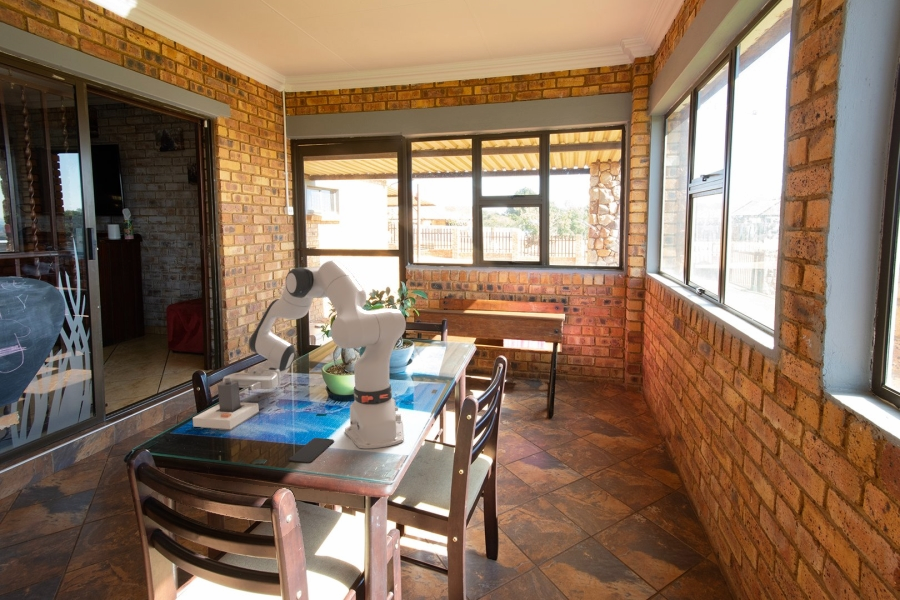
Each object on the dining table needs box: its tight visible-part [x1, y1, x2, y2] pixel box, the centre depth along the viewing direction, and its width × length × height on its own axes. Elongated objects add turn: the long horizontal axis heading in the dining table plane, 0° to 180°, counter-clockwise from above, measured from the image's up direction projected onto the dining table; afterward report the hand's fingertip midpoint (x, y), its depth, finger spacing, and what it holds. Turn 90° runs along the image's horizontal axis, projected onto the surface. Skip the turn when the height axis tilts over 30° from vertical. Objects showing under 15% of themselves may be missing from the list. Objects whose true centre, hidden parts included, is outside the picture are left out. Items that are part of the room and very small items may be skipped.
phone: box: [288, 437, 335, 464], centre depth 148 cm, size 7×1×15 cm
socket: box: [192, 401, 260, 432], centre depth 173 cm, size 16×14×4 cm
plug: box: [217, 378, 241, 413], centre depth 174 cm, size 4×5×14 cm
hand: (238, 387), depth 179 cm, fingers open, 8 cm apart
